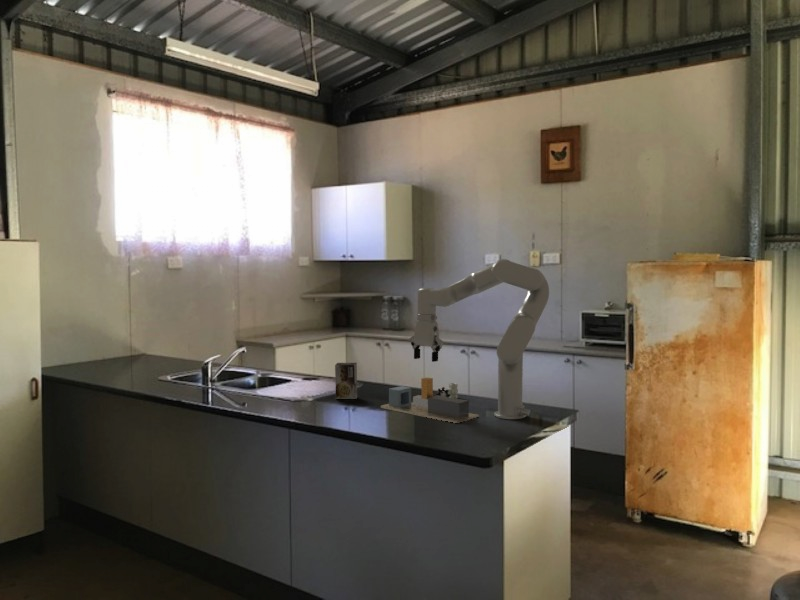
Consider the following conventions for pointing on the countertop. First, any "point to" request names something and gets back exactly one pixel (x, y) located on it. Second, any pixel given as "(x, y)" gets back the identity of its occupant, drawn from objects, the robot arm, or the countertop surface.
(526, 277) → the robot arm
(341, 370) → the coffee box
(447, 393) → the valve
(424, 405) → the sliding bar with handle
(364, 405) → the countertop surface
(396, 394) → the socket block
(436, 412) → the stand
